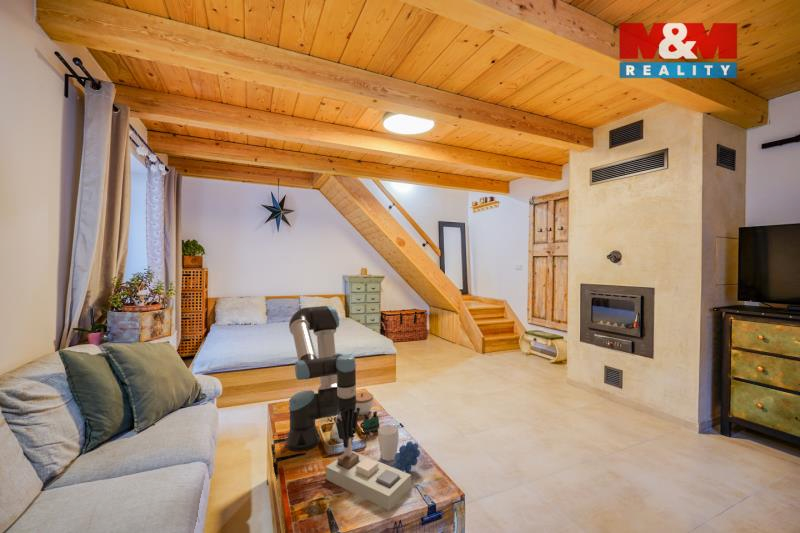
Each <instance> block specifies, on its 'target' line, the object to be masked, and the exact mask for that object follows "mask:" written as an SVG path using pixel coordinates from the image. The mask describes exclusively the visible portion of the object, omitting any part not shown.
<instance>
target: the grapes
mask: <svg viewBox="0 0 800 533" xmlns="http://www.w3.org/2000/svg"><path fill="white" fill-rule="evenodd" d="M420 455H421V452H420V450H419V444H418V443H417V442H415V443H413V442H412V441H408V442H406V444H405V445H404V444H403V445H400V447H399V452H397V454H396V455H395V459H394V461H395V462H394V464H393V468H395V469H398V470H400V471H403V472H405V473H409V472H411V471H412V467H415V466H416V465H417V463H418V457H420Z"/></svg>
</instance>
